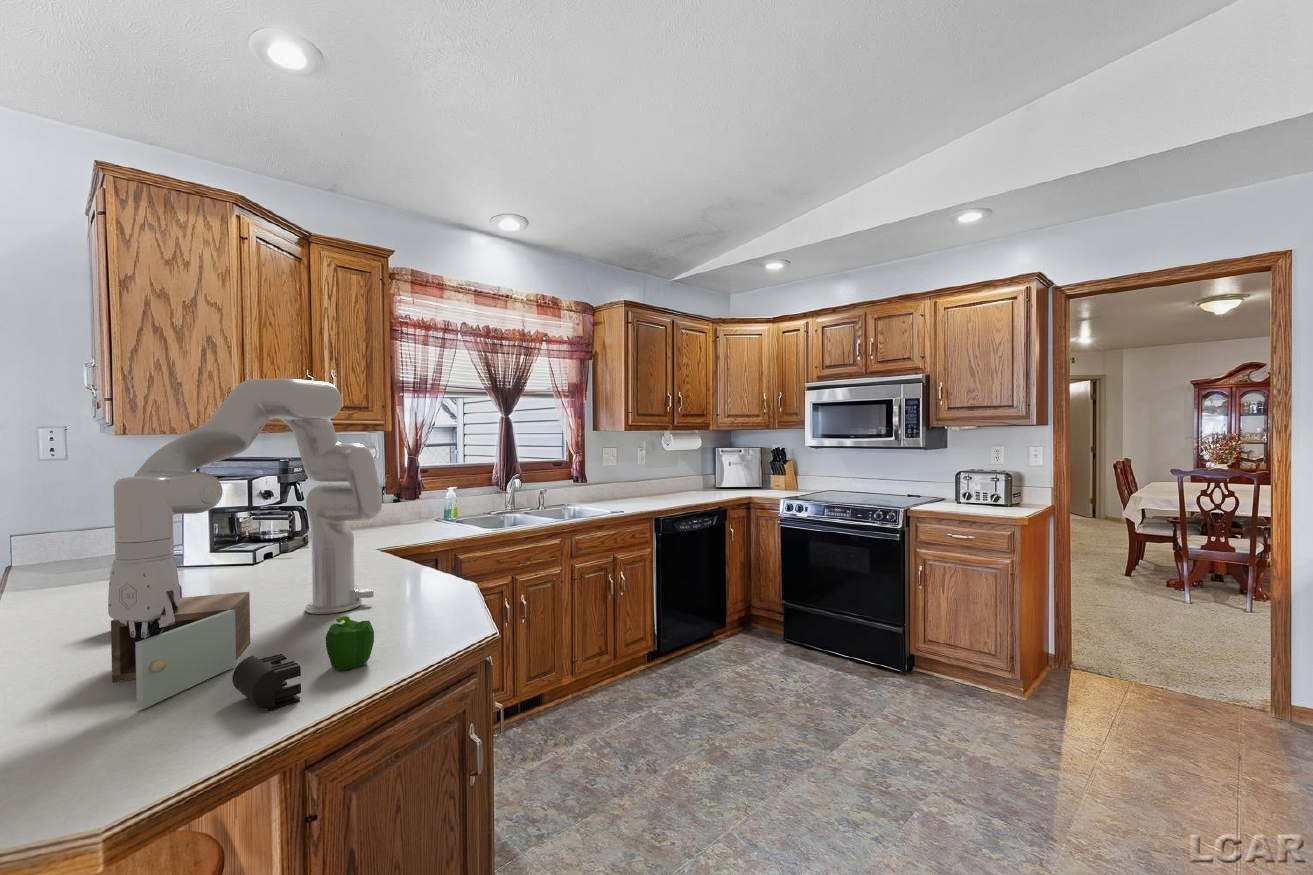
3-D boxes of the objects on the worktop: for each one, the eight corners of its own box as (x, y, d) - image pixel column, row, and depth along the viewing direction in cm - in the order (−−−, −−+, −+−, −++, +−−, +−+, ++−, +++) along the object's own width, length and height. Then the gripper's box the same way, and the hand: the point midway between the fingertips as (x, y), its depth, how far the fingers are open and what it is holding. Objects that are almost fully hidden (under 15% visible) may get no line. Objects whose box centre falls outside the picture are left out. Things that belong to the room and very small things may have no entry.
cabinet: (250, 643, 128) (249, 591, 128) (230, 666, 115) (229, 609, 115) (145, 655, 122) (144, 600, 122) (111, 682, 109) (110, 620, 109)
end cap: (232, 701, 101) (231, 660, 101) (279, 686, 106) (279, 648, 106) (252, 718, 94) (252, 675, 94) (302, 702, 100) (301, 661, 100)
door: (230, 665, 115) (229, 609, 115) (241, 665, 115) (240, 610, 115) (136, 708, 97) (135, 642, 97) (149, 709, 97) (148, 643, 97)
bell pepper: (361, 654, 121) (360, 604, 121) (381, 664, 116) (380, 612, 116) (316, 667, 115) (315, 614, 115) (335, 678, 110) (334, 623, 110)
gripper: (85, 552, 100) (88, 663, 100) (156, 556, 96) (158, 671, 97) (134, 544, 107) (137, 647, 107) (201, 547, 104) (204, 654, 104)
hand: (147, 658), depth 102 cm, fingers closed
